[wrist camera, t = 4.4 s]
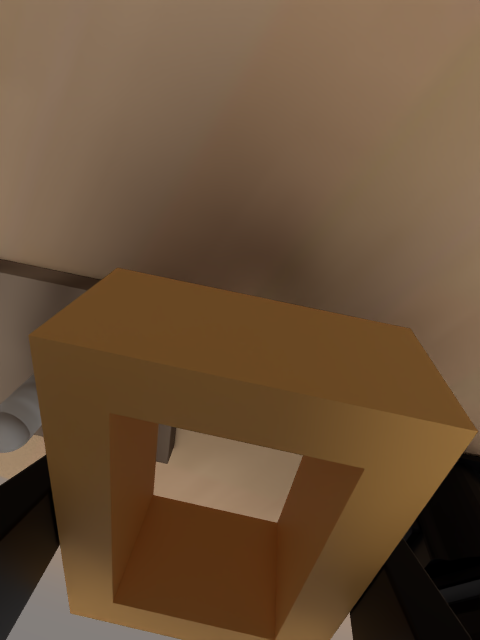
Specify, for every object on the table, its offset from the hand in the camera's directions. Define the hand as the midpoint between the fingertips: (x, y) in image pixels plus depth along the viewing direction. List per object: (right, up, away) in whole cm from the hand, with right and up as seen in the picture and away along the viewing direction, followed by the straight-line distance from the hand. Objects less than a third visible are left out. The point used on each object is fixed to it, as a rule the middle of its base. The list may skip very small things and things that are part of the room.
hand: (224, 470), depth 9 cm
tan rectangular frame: (0, 0, +1) cm, 1 cm away
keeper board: (-10, +1, +13) cm, 17 cm away
